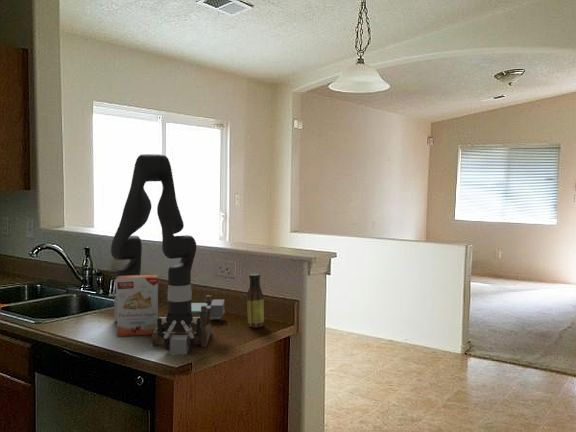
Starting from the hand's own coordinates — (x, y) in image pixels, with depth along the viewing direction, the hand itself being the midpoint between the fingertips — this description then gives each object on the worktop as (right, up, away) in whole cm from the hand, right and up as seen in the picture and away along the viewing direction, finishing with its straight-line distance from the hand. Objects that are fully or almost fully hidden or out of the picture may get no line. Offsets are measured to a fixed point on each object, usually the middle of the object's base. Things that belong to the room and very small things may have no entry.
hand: (179, 349), depth 168 cm
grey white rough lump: (+6, +1, +40) cm, 41 cm away
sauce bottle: (+22, 0, +32) cm, 39 cm away
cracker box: (-19, 0, +20) cm, 28 cm away
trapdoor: (+3, +9, +14) cm, 17 cm away
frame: (-2, 0, +14) cm, 14 cm away
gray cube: (0, -1, 0) cm, 1 cm away
